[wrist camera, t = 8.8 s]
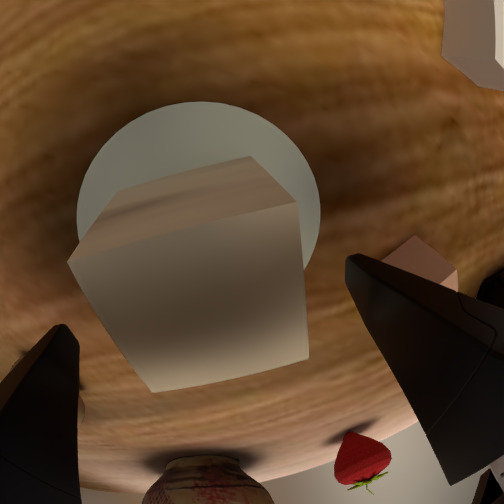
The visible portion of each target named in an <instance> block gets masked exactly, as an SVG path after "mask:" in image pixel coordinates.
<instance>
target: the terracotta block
mask: <svg viewBox="0 0 504 504" xmlns="http://www.w3.org/2000/svg"><path fill="white" fill-rule="evenodd" d="M381 261H382V262H384V263H387V264H389V265H392V266H395V267H397V268H400V269H402V270H405V271H408V272H410V273H413V274H415V275H418V276H420V277H423V278H425V279H428V280H431V281H433V282H436V283H438V284H440V285H443V286H445V287H448V288H450V289H453V290H455V291H456V292H458V277H457V268H455V267H454V266H453V265H452V264H451V263H450V262H448V261H447V260H446V259H445V258H444V257H442V256H441V255H440V254H439V253H437V252H436V251H435V250H434V249H433V248H431V247H430V246H429V245H428V244H426V243H425V242H424V241H422V240H421V239H420V238H419V237H417V236H416V235H414V236H413V237H411V238H410V239H409V240H408V241H406V242H405V243H404V244H402V245H401V246H400V247H398V248H397V249H396V250H395V251H393V252H392V253H391V254H389V255H388V256H387V257H385V258H384V259H383V260H381Z"/></svg>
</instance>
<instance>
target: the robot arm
mask: <svg viewBox="0 0 504 504" xmlns="http://www.w3.org/2000/svg"><path fill="white" fill-rule="evenodd" d="M345 282H346V285H347V288H348V290H349V292H350V294H351V296H352V298H353V300H354V302H355V305H356V307H357V309H358V311H359V313H360V315H361V318H362V320H363V322H364V324H365V326H366V328H367V329H368V331H369V333H370V334H371V336H372V338H373V339H374V341H375V343H376V345H377V346H378V348H379V350H380V351H381V353H382V355H383V356H384V358H385V360H386V362H387V363H388V365H389V367H390V369H391V370H392V372H393V374H394V376H395V378H396V379H397V381H398V383H399V385H400V387H401V388H402V390H403V392H404V394H405V396H406V398H407V399H408V401H409V403H410V405H411V407H412V409H413V411H414V413H415V414H416V416H417V418H418V420H419V422H420V424H421V426H422V428H423V430H424V432H425V434H426V436H427V438H428V440H429V442H430V444H431V447H432V449H433V451H434V453H435V455H436V457H437V459H438V461H439V463H440V465H441V468H442V470H443V472H444V474H445V476H446V479H447V481H448V483H449V484H450V486H452V485H454V484H456V483H458V482H459V481H461V480H463V479H465V478H467V477H469V476H471V475H472V474H474V473H476V472H478V471H479V470H481V469H483V468H484V467H486V466H487V465H489V467H490V469H488V470H487V471H486V472H485V473H483V474H482V475H481V477H480V480H479V484H478V487H477V490H476V493H475V496H474V499H473V502H472V504H504V270H502V271H501V272H499V273H497V274H496V275H494V276H492V277H491V278H489V279H487V280H486V281H485V282H484V283H483V285H482V288H481V291H480V293H479V296H478V299H475V298H472V297H470V296H467V295H465V294H463V293H460V292H456V291H455V290H453V289H450V288H448V287H445V286H443V285H440V284H438V283H436V282H433V281H431V280H428V279H425V278H423V277H420V276H418V275H415V274H413V273H410V272H408V271H405V270H402V269H400V268H397V267H395V266H392V265H389V264H387V263H384V262H382V261H379V260H376V259H374V258H371V257H368V256H365V255H363V254H360V253H357V254H354V255H350V256H348V257H347V258H346V263H345ZM79 354H80V346H79V342H78V340H77V339H76V338H75V336H74V335H73V333H72V332H71V331H70V329H69V328H68V326H67V325H65V324H59V325H55V326H53V327H52V328H51V329H50V330H49V331H48V332H47V333H46V334H45V335H44V336H43V337H42V338H41V339H40V340H39V341H38V342H37V344H36V345H35V346H34V347H33V348H32V349H31V350H30V351H29V352H28V353H27V354H26V355H25V356H24V357H23V358H22V359H21V360H20V362H19V363H18V364H17V365H16V366H15V367H14V368H13V369H12V370H11V371H10V373H9V374H8V375H7V376H6V377H5V378H4V379H3V380H2V382H1V383H0V504H82V501H81V494H80V484H79V470H78V441H77V431H78V401H79Z"/></svg>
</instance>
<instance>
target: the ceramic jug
mask: <svg viewBox="0 0 504 504" xmlns="http://www.w3.org/2000/svg"><path fill="white" fill-rule="evenodd" d="M142 504H274V502H273V500H272V498H271V496H270V494H269V493H268V491H267V490H266V489H265V488H264V487H263V486H262V485H261V484H260V483H258V482H257V481H255V480H254V479H253V478H251V477H250V476H249V475H247V474H246V473H245V472H244V471H243V470H242V469H241V468H240V466H239V460H234V459H232V458H229V457H225V456H216V455H201V456H195V457H183V458H179V459H175V460H173V461H171V462H169V463H168V464H167V466H166V469H165V472H164V474H163V475H162V476H161V477H160V478H159V479H158V480H157V481H156V482H155V483H154V484H153V485H152V486H151V487H150V488H149V490H148V491H147V492H146V494H145V496H144V498H143V501H142Z"/></svg>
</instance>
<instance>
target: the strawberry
mask: <svg viewBox="0 0 504 504" xmlns="http://www.w3.org/2000/svg"><path fill="white" fill-rule="evenodd" d="M391 459H392V458H391V453H390V450H389V449H388V448H386V446H385V445H383V444H382V443H381V442H378V441H376V440H374V439H371V438H369V437H366V436H363V435H360V434H357V433H355V432H349V433H347V434H346V435H345V436H344V438H343V442H342V444H341V447H340V449H339V451H338V454H337V458H336V461H335V465H334V475H335V477H336V479H337V480H338V482H339V483H341V484H344V485H348V484H354V485H355V486H354V487H352V488H350V489H348V490H351V489H355V488H358V487H360V486H362V485H366V487H367V484H369V483H371V482H372V481H373V480H377V479H379V478H380V477H382V476H384V475H385V474H387V473H388V472H386V473H383V474H380V475H378V474H379V473H380V472H381V471H382V470H383V469H385V468H386V467H387V466H388V465H389V463H390V461H391ZM367 490H368V489H367ZM368 491H369V492H371V491H370V490H368ZM371 493H372V492H371ZM372 494H373V493H372Z"/></svg>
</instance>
